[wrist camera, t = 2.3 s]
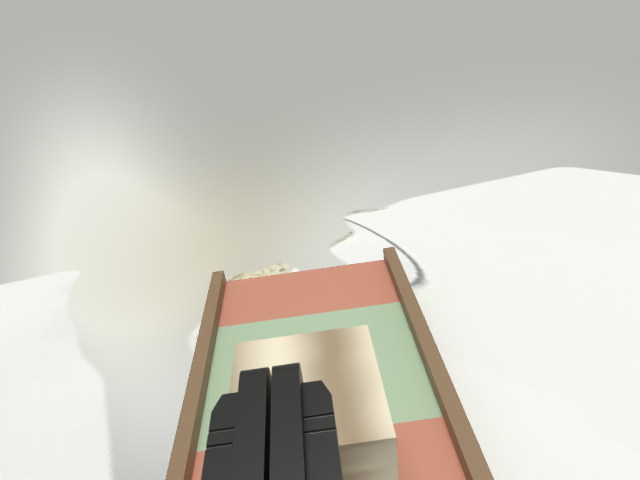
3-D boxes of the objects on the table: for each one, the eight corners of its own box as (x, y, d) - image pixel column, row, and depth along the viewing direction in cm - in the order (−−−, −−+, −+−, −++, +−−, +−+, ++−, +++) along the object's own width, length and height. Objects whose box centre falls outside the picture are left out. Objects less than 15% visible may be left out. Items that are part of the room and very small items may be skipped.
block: (260, 577, 26) (220, 462, 21) (263, 451, 33) (235, 343, 28) (402, 556, 26) (396, 437, 21) (376, 435, 33) (367, 324, 28)
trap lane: (138, 669, 24) (126, 651, 23) (216, 286, 54) (212, 272, 53) (537, 610, 24) (541, 590, 23) (394, 262, 54) (393, 247, 53)
